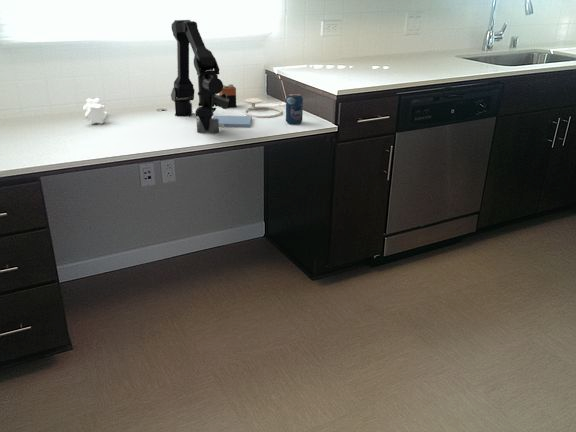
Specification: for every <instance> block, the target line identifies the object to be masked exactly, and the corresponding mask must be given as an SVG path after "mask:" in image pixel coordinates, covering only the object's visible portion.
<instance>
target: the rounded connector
mask: <svg viewBox="0 0 576 432" xmlns="http://www.w3.org/2000/svg"><path fill="white" fill-rule="evenodd" d="M195 120H196V132H197V133H198V134H219V133H220V128H221V129H222V128H225V127H224V124H219V119H217V118H213V117H212V118H210V124H209V130H208V131H206V130H205V128H204V126H203V124H202V122H201V120H200V119H199V117H198V118H196V119H195Z"/></svg>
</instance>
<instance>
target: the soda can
mask: <svg viewBox="0 0 576 432" xmlns="http://www.w3.org/2000/svg"><path fill="white" fill-rule="evenodd" d="M303 104H304V98H303V95H302V93H299V92H290V93H288V94H287V95H286V98H285V122H286V124H288V125H290V124H292V126H299V125H301V124H302V122H303V110H304V109H303V108H304V105H303Z"/></svg>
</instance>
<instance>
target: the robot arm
mask: <svg viewBox="0 0 576 432" xmlns="http://www.w3.org/2000/svg"><path fill="white" fill-rule="evenodd" d="M171 32H172V36H173V37H174V39H175V41H176V42H177V43H176V46H177V47H176V51H177V55H176V58H177V77H176V78H175V80H174V82H173V87H172V90H171V92H170V99H171V101H172V102H174V107H175V110H174V112H175V114H174V116H175V117H179V116H180V117H185V116H186V117H189V116H191V115H192V114H193V103H192V102H191V101H194V99H195V92H196V91H195V88H194V84H193V83H192V81H191V79H190V47H191V49H192V52H193V54H194V57H193V65H194V68H195V71H196V75H197V86H198V92H197V96H198V107H197V108H196V109H195V117H198V118H199V119H200V120H201V122H202V124H203V126H204V128H205V130H206V131H208V130H209V124H210V118H213V117H214V114H215V113H214V112H215V111H216V110H217V107H219V108H221V109H223V110H227V109H228V108H227V105H228V102H229V99H227V94H224V93H223V94H222V95H221V96H220V94H219V93H220V92H221V91H222V89H223V85H224V84H223V81H222V80H221V79H220V78H219V77H218V76H219V75H220V67H219V63H218V62H217V59H216V58H215V55H214V54H213V52H212V51H211V50H209V49H208V48H207V47H206V45H205V42H204V40H203V38H202V36H201V33H200V31H199V28H198V23H197V22H196V21H194V20H193V21H192V20H191V19H178V20H177V19H175V20H174V21H173V22H172V23H171ZM218 94H219V95H218Z"/></svg>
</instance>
